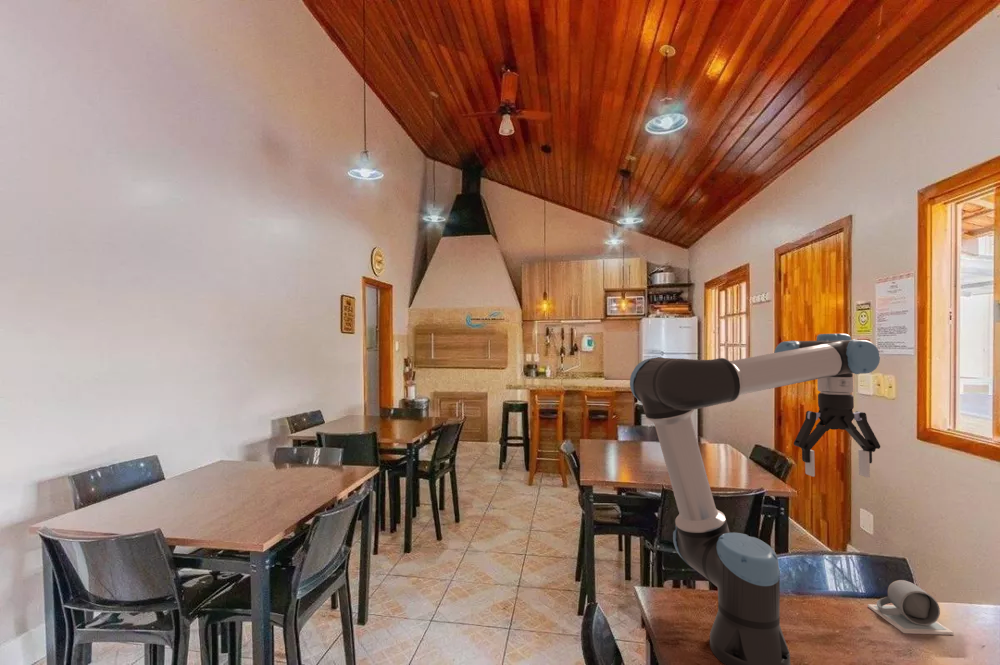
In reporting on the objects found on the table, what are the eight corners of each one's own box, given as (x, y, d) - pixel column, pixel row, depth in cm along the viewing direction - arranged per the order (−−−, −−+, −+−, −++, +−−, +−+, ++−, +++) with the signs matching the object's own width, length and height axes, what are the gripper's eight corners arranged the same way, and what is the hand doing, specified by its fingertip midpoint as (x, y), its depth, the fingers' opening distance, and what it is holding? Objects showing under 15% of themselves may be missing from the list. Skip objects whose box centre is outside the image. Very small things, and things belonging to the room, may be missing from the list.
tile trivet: (903, 633, 106) (903, 630, 106) (867, 606, 117) (867, 604, 117) (953, 634, 106) (953, 631, 106) (912, 607, 117) (912, 605, 117)
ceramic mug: (920, 609, 115) (918, 577, 115) (941, 628, 107) (939, 594, 107) (870, 603, 118) (868, 572, 118) (887, 621, 110) (885, 588, 110)
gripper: (794, 394, 117) (796, 478, 116) (896, 394, 116) (899, 480, 115) (778, 391, 124) (779, 470, 123) (873, 392, 123) (875, 472, 122)
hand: (837, 475), depth 119 cm, fingers open, 13 cm apart
